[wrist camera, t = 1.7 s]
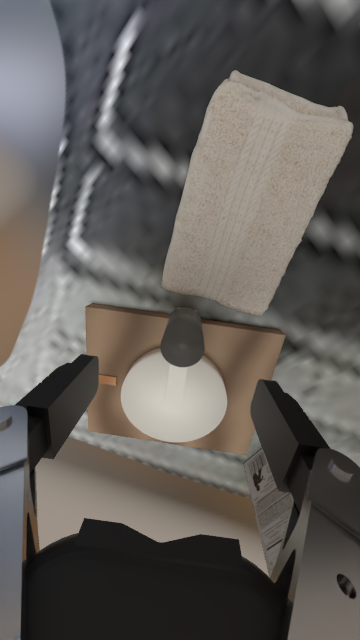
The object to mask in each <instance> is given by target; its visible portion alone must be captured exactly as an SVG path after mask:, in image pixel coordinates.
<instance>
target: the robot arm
mask: <svg viewBox="0 0 360 640" xmlns="http://www.w3.org/2000/svg"><path fill="white" fill-rule="evenodd" d="M98 385H99V359H98V357H97V356H92V355H84V354H81V355H80V356H78V357H77V358H76V359H75V360H74V361H73V362H72V363H66V364H64V365H62V366H60V367H58V368H56V369H55V370H54V371H53V372H52V373H51V374H50V375H49V377H48V376H47V377H46V378H45V379H44V380H43V381H42V383H39V384H38V385H37V386H36V387H35V388H34V389H33V390H31V391H30V392H29V393H28V394H27V395H26V396H25V397H23V398H22V399H21V400H20V401H19V402H18V403H17V404H15V405H10V406H4V407H0V640H360V467H359V466H358V465H357V464H356V463H354V462H353V461H352V460H351V459H349V458H348V457H347V456H345V455H343V454H342V453H340V452H338V451H335V450H333V449H330V447H329V446H328V444H327V443H326V442H325V440H324V439H323V437H322V436H321V435H320V433H319V432H318V430H317V429H316V428H315V426H314V425H313V423H312V422H311V421H310V420H309V418H308V416H307V415H306V414H305V412H303V409H302V408H301V407H300V405H299V404H298V402H297V401H296V400H295V399H293V398H292V397H291V396H290V395H289V394H287V393H284V392H283V390H282V389H281V387H280V386H279V384H278V383H277V382H276V381H271V380H264V379H259V380H258V382H257V385H256V389H255V392H254V395H253V399H252V402H251V406H250V414H251V418H252V421H253V424H254V426H255V429H256V432H257V435H258V437H259V440H260V443H261V445H262V448H263V451H264V454H265V456H266V459H267V462H268V464H269V467H270V470H271V472H272V475H273V478H274V481H275V483H276V486H277V489H278V491H280V492H287V493H291V495H292V497H293V499H294V500H293V502H292V504H291V508H290V511H289V515H288V519H287V523H286V527H285V531H284V535H283V538H282V542H281V546H280V550H279V554H278V557H277V560H276V563H275V566H274V569H273V571H272V574H271V577H270V578H269V577H268V576H267V575H266V574H265V573H264V572H263V571H262V570H261V569H259V568H258V567H257V566H256V565H255V564H253V563H251V562H250V561H249V560H247V559H246V558H244V557H242V556H241V551H240V544H239V540H238V539H231V538H223V537H216V536H209V535H202V534H201V535H196V536H191V537H187V538H182V539H178V540H173V541H169V542H164V543H159V542H156V541H155V540H153V539H151V538H149V537H147V536H145V535H143V534H141V533H139V532H138V531H136V530H134V529H132V528H130V527H128V526H126V525H124V524H122V523H115V522H108V521H101V520H94V519H86V518H84V521H83V523H82V526H81V529H80V531H79V533H78V534H73V535H70V536H67V537H64V538H62V539H60V540H58V541H56V542H54V543H51V544H50V545H48V546H46V547H45V548H43V549H42V550H40V548H39V536H38V523H37V492H36V468H35V466H36V465H37V464H38V462H39V461H40V459H41V458H49V459H54V457H55V456H56V454H57V453H58V451H59V450H60V448H61V447H62V445H63V444H64V442H65V441H66V439H67V438H68V436H69V435H70V433H71V431H72V430H73V428H74V427H75V425H76V424H77V422H78V421H79V419H80V418H81V416H82V415H83V413H84V412H85V410H86V409H87V407H88V406H89V404H90V403H91V401H92V400H93V398H94V396H95V395H96V393H97V390H98Z"/></svg>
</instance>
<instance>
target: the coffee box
mask: <svg viewBox="0 0 360 640" xmlns="http://www.w3.org/2000/svg"><path fill="white" fill-rule="evenodd" d="M244 468H245V472H246V477H247V481H248V485H249V489H250V494H251V498H252V502H253V507H254V511H255V516H256V520H257V524H258V529H259V534H260V538H261V542H262V547H263V551H264V555H265V560H266V564H267V569H268V573H269V578H270V577H271V574H272V571H273V569H274V566H275V563H276V560H277V557H278V554H279V550H280V546H281V542H282V538H283V535H284V531H285V527H286V523H287V519H288V515H289V511H290V508H291V504H292V502H293V500H294V499H293V497H292V495H291V493H287V492H280V491H278V489H277V486H276V483H275V481H274V478H273V475H272V472H271V470H270V467H269V464H268V462H267V459H266V456H265V454H264V451H263V448H262V449H260V450H259V451H258V452H257V453H256V454H254V455H253V456H252V457H251V458H250V459H249V460H247V461H246V462H245V463H244Z"/></svg>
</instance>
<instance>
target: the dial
mask: <svg viewBox="0 0 360 640" xmlns="http://www.w3.org/2000/svg"><path fill="white" fill-rule="evenodd" d="M204 350H205V345H204V337H203V329H202V321H201V317H200V315H199V314H198V313H197V312H196V310H194V309H192V308H188V307H181V308H177V309H176V310H175V311H173V313H172V314H171V315H170V317H169V320H168V323H167V326H166V329H165V332H164V335H163V337H162V340H161V344H160V348H157V349H154V350H151V351H149V352H147V353H145V354H144V355H142V356H141V357H140V358H139V359H137V361H136V362H135V363H134V364H133V365H132V367H131V369H130V370H129V372H128V374H127V376H126V378H125V380H124V382H123V385H122V388H121V403H122V407H123V410H124V412H125V414H126V416H127V418H128V419H129V421H130V422H131V423H132V424H133V425H134V426H135V427H136V428H137V429H138V430H140V431H141V432H143V433H144V434H146V435H148V436H150V437H152V438H155V439H158V440H161V441H166V442H188V441H193V440H196V439H199V438H201V437H204V436H205V435H207V434H209V433H210V432H211V431H213V430H214V429H215V428H216V427H217V426H218V425H219V424H220V422H221V421H222V419H223V417H224V415H225V412H226V408H227V394H226V389H225V385H224V381H223V378H222V375H221V373H220V371H219V370H218V368H217V367H216V365H215V364H214V363H213V362H212V361H211V360H210V359H208V358H207V357H206V356H204V355H203V354H204Z"/></svg>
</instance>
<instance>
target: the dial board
mask: <svg viewBox="0 0 360 640" xmlns="http://www.w3.org/2000/svg"><path fill="white" fill-rule="evenodd" d="M85 308H86V349H87V355H92V356H97V357H98V359H99V385H98V390H97V393H96V395H95V396H94V398H93V400H92V401H91V403H90V404H89V406H88V430H89V431H91V432H97V433H104V434H111V435H117V436H124V437H130V438H137V439H144V440H150V441H157V442H163V443H170V444H177V445H183V446H190V447H197V448H203V449H210V450H216V451H223V452H230V453H236V454H243V455H247V452H248V449H249V446H250V443H251V440H252V437H253V434H254V430H255V426H254V424H253V421H252V418H251V414H250V406H251V402H252V399H253V395H254V392H255V389H256V385H257V382H258V380H259V379H264V380H271V379H272V376H273V373H274V369H275V366H276V363H277V360H278V357H279V354H280V351H281V348H282V345H283V342H284V339H285V336H286V335H285V334H284V333H283V332H282V331H280V330H276V329H269V328H262V327H255V326H247V325H240V324H233V323H226V322H219V321H212V320H205V319H201V321H202V329H203V337H204V345H205V350H204V354H203V355H204V356H206V357H207V358H208V359H210V360H211V361H212V362H213V363H214V364H215V365H216V367H217V368H218V370H219V371H220V373H221V375H222V378H223V381H224V385H225V389H226V394H227V408H226V412H225V415H224V417H223V419H222V421H221V422H220V424H219V425H218V426H217V427H216V428H215V429H214V430H213V431H211V432H210V433H209V434H207V435H205V436H204V437H201V438H199V439H196V440H193V441H188V442H166V441H161V440H158V439H155V438H152V437H150V436H148V435H146V434H144V433H143V432H141V431H140V430H138V429H137V428H136V427H135V426H134V425H133V424H132V423H131V422H130V421H129V419H128V418H127V416H126V414H125V412H124V410H123V407H122V403H121V388H122V385H123V382H124V380H125V378H126V376H127V374H128V372H129V370H130V369H131V367H132V365H133V364H134V363H135V362H136V361H137V359H139V358H140V357H141V356H142V355H144V354H145V353H147V352H149V351H151V350H154V349H157V348H160V344H161V340H162V337H163V335H164V332H165V329H166V326H167V323H168V320H169V317H170V314H163V313H156V312H149V311H142V310H135V309H128V308H121V307H114V306H107V305H100V304H93V303H92V304H90V305H88V306H86V307H85Z"/></svg>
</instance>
